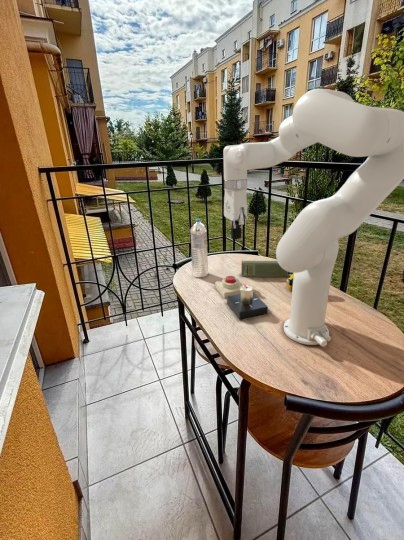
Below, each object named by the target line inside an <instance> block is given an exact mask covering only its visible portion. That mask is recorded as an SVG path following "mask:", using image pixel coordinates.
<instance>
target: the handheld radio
mask: <svg viewBox="0 0 404 540" xmlns="http://www.w3.org/2000/svg"><path fill="white" fill-rule="evenodd" d="M292 274H293V273H291V272H288V271H286V270H284V269H283V268H281V266H280V265H279V264H278V261H277V260H241V273H240V275H241V277H271V278H273V277H274V278H276V277H277V278H279V277H280V278H283V277H285V278H287V277H291V275H292Z"/></svg>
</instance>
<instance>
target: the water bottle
mask: <svg viewBox="0 0 404 540" xmlns="http://www.w3.org/2000/svg"><path fill="white" fill-rule="evenodd" d="M189 233H190V245H191V247H190V251H191V269H192V272H191V273H192V275H193V277H195V278H205V277H207V276H208V275H209V266H208V265H209V264H208V262H209V260H208V259H209V258H208V239H207V238H208V236H207V227H206V226H205V225H204V224H203V223H202V222H201V218H195V223H194V224H192V225H191V227H190V229H189Z"/></svg>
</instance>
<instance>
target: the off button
mask: <svg viewBox="0 0 404 540" xmlns="http://www.w3.org/2000/svg"><path fill="white" fill-rule="evenodd" d="M225 278H226V283H235V278H236V276H235V275H227V276H226V277H225Z"/></svg>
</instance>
